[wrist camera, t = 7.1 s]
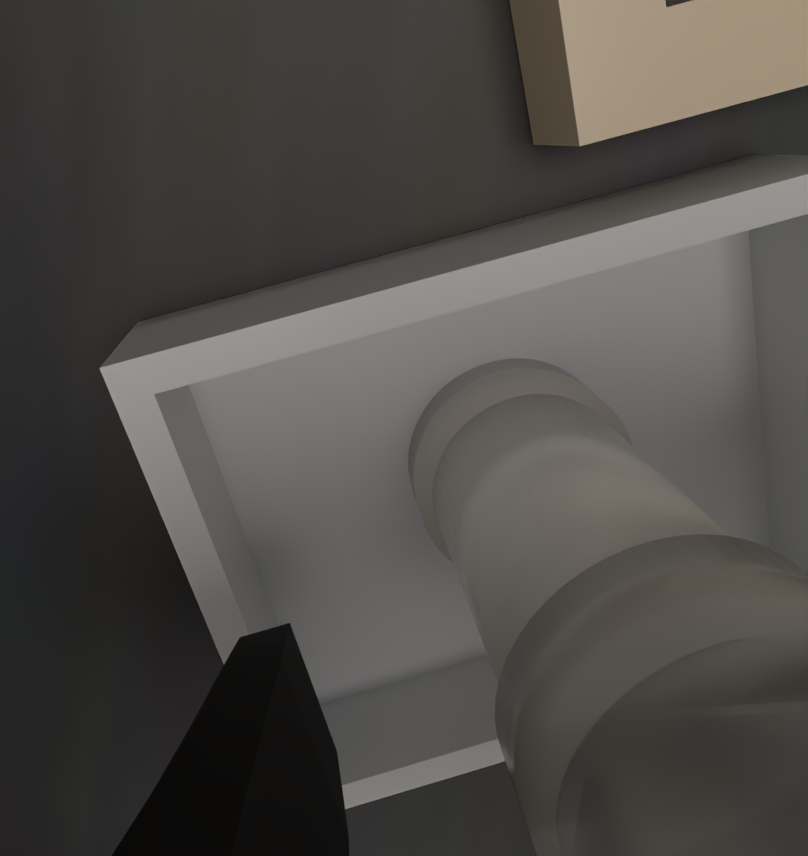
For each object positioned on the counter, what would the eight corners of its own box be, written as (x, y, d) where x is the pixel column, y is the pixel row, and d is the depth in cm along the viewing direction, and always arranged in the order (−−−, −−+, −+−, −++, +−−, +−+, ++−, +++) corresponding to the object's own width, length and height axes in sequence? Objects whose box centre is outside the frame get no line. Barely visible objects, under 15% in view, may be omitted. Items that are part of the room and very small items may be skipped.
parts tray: (756, 153, 12) (867, 157, 10) (781, 572, 15) (870, 650, 13) (137, 321, 12) (99, 367, 9) (291, 716, 15) (291, 825, 12)
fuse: (595, 337, 12) (939, 565, 6) (615, 519, 13) (914, 874, 7) (389, 385, 12) (502, 676, 6) (428, 566, 13) (558, 974, 7)
